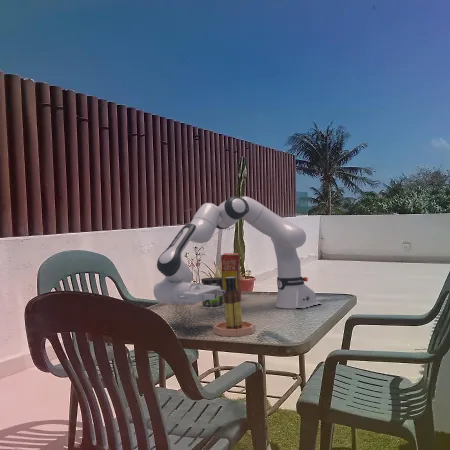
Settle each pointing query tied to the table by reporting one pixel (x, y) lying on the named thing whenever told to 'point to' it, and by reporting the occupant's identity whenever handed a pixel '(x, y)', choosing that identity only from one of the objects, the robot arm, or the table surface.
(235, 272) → the food packaging
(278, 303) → the robot arm
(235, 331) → the terracotta saucer
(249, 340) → the table surface
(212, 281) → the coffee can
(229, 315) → the sauce bottle
